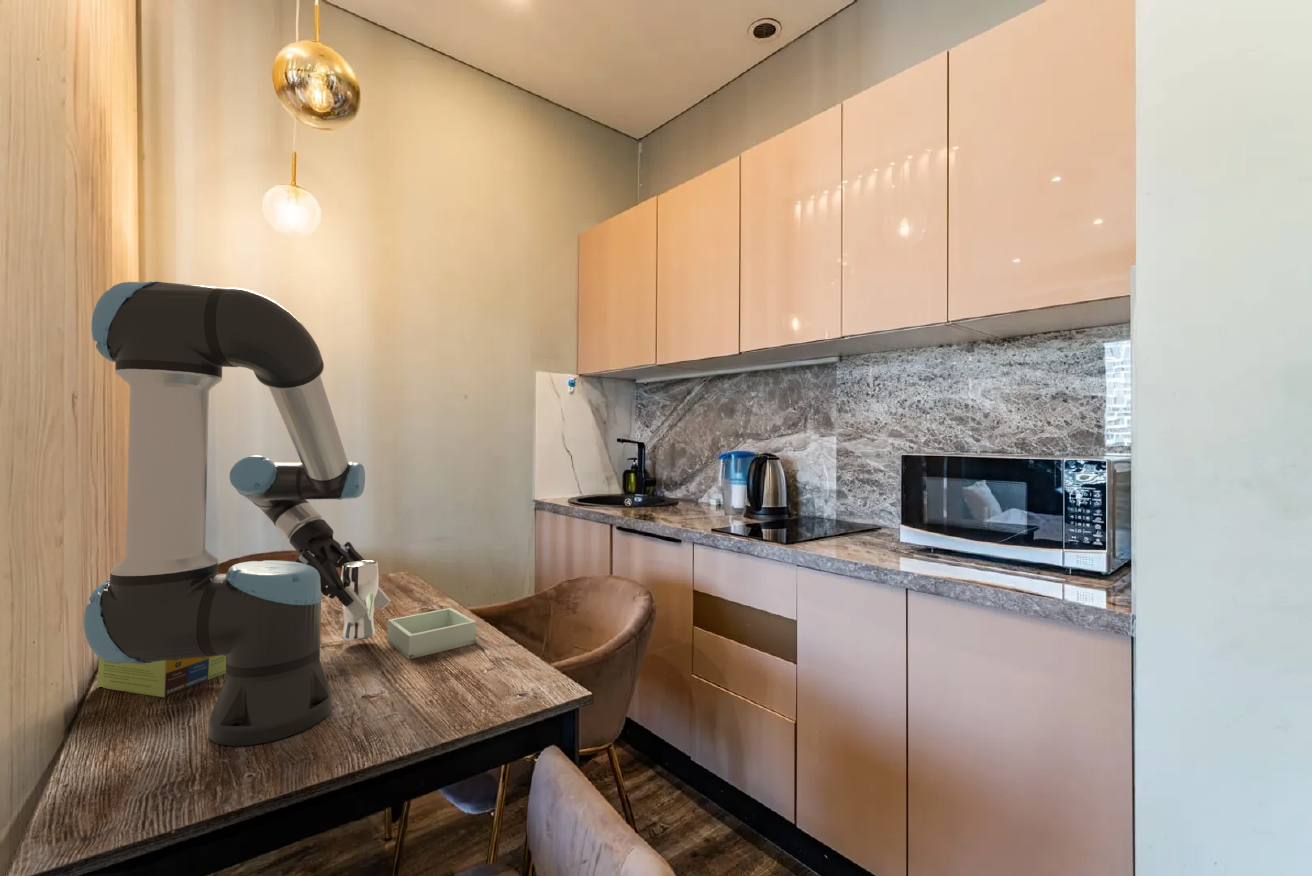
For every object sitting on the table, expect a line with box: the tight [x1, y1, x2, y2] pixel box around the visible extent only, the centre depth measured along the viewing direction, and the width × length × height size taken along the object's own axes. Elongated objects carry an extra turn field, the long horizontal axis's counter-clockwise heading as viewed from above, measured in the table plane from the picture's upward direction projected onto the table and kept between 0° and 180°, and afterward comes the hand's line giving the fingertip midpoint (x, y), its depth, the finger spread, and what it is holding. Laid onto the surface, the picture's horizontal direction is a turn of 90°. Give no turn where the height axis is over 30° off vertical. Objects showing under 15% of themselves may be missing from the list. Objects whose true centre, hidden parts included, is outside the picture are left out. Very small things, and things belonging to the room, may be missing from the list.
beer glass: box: [340, 560, 379, 642], centre depth 114 cm, size 7×7×15 cm
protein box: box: [97, 655, 226, 698], centre depth 96 cm, size 10×15×16 cm
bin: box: [386, 607, 477, 660], centre depth 116 cm, size 14×14×4 cm
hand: (374, 609), depth 113 cm, fingers closed on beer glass, 7 cm apart
